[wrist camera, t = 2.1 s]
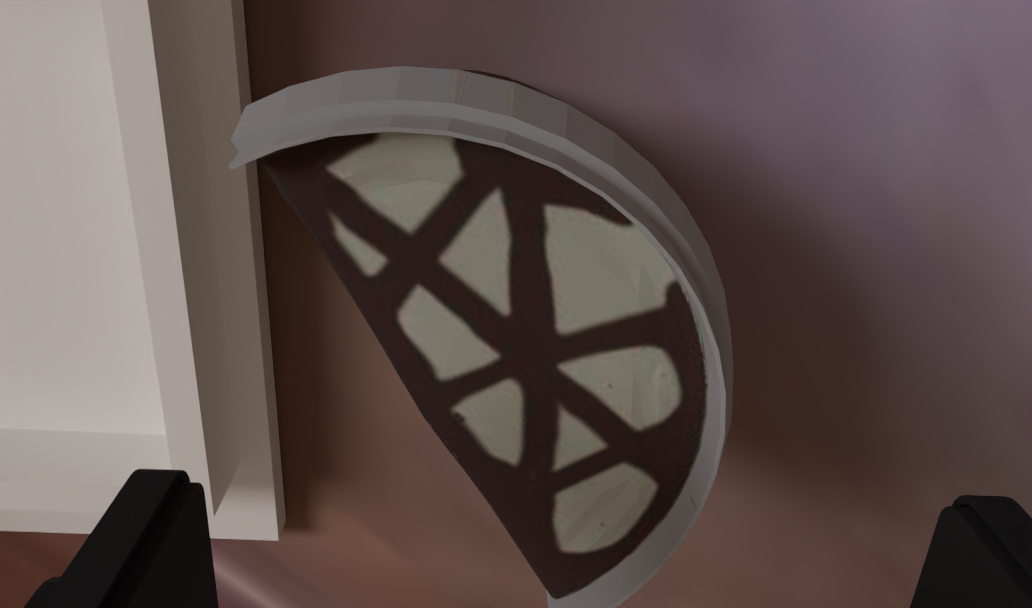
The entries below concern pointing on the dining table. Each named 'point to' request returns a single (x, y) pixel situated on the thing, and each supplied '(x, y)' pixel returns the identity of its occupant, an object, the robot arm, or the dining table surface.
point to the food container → (522, 303)
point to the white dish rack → (131, 265)
